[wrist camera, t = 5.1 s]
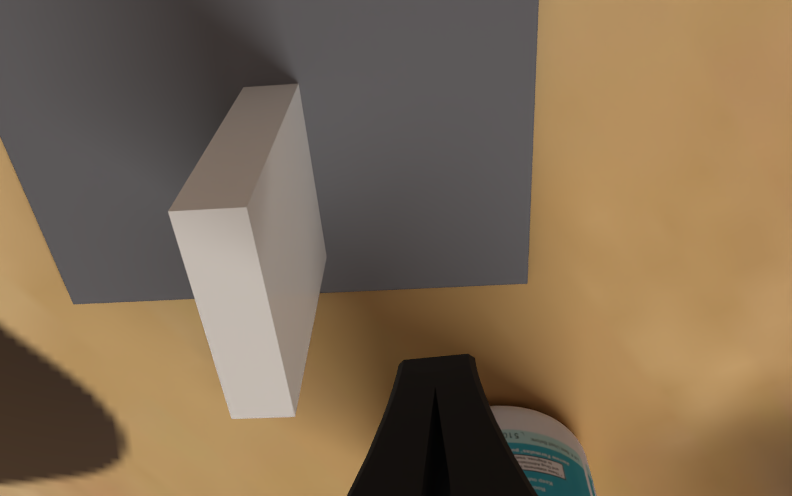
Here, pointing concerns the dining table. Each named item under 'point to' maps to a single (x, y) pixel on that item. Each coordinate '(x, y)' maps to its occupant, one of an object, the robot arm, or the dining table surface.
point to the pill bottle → (545, 452)
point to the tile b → (255, 249)
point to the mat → (324, 119)
